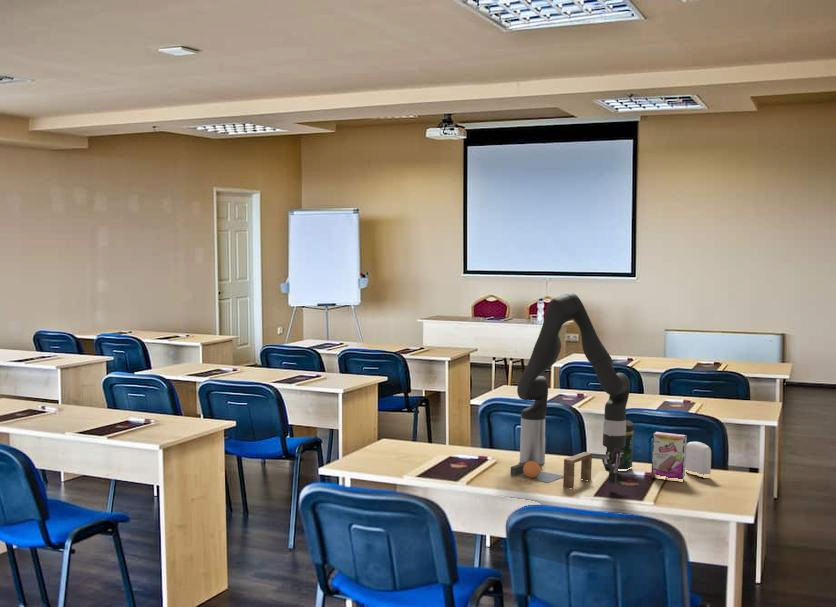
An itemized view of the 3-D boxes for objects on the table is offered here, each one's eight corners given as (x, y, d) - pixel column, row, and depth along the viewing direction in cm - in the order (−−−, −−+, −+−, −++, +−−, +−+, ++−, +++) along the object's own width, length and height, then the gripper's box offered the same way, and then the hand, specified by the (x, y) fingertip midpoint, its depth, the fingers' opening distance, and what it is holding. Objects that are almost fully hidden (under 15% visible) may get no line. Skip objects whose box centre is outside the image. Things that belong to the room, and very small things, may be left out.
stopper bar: (527, 469, 319) (527, 461, 318) (532, 470, 317) (532, 462, 317) (510, 475, 309) (510, 466, 309) (515, 476, 308) (515, 467, 308)
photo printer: (682, 473, 319) (684, 439, 318) (691, 471, 321) (693, 439, 320) (703, 479, 309) (704, 445, 309) (712, 478, 311) (713, 444, 311)
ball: (531, 456, 309) (545, 466, 307) (522, 468, 310) (536, 479, 308) (527, 459, 303) (540, 470, 301) (517, 472, 305) (531, 483, 303)
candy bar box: (650, 479, 308) (652, 433, 308) (653, 476, 313) (654, 431, 312) (683, 483, 304) (685, 437, 303) (685, 480, 308) (686, 434, 307)
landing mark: (535, 470, 316) (535, 470, 316) (564, 476, 309) (565, 475, 309) (518, 476, 307) (518, 476, 307) (548, 482, 300) (548, 482, 300)
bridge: (563, 487, 294) (564, 459, 294) (583, 478, 306) (584, 451, 306) (570, 488, 293) (571, 460, 292) (591, 480, 304) (592, 453, 304)
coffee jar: (627, 473, 315) (629, 423, 314) (606, 470, 319) (608, 421, 318) (634, 468, 324) (636, 419, 323) (613, 465, 328) (615, 417, 327)
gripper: (612, 427, 298) (610, 477, 299) (595, 433, 288) (593, 484, 289) (632, 431, 294) (630, 481, 295) (616, 437, 283) (614, 489, 284)
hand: (612, 482), depth 292 cm, fingers closed
